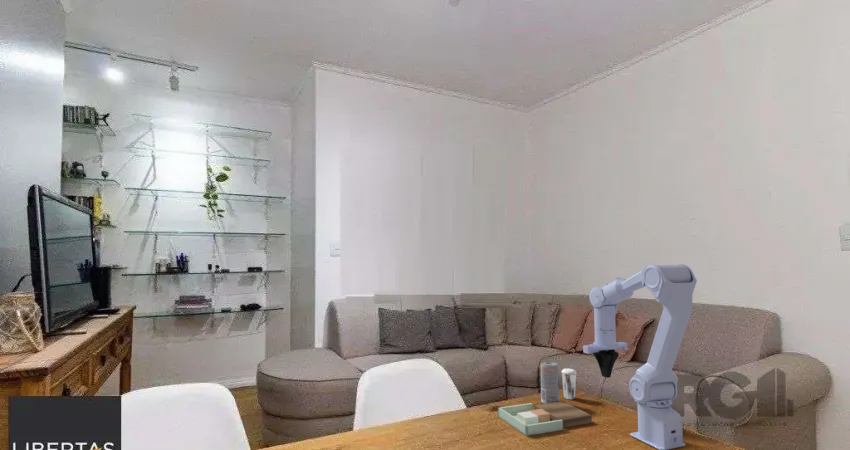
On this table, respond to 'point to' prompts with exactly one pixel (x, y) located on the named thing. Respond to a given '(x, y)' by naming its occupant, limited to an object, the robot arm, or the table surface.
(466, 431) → the table surface
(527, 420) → the tile
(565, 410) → the board
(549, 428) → the tray
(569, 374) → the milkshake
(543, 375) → the energy drink
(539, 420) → the tile
